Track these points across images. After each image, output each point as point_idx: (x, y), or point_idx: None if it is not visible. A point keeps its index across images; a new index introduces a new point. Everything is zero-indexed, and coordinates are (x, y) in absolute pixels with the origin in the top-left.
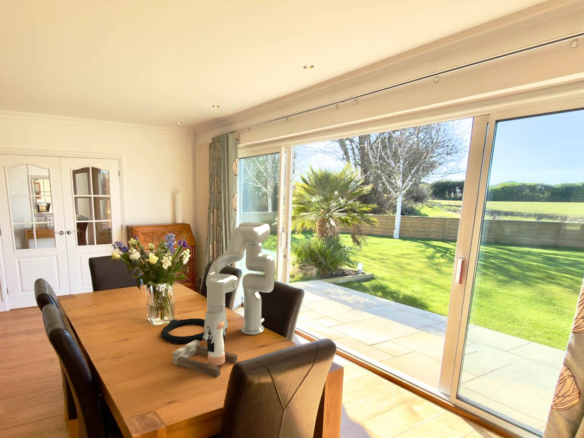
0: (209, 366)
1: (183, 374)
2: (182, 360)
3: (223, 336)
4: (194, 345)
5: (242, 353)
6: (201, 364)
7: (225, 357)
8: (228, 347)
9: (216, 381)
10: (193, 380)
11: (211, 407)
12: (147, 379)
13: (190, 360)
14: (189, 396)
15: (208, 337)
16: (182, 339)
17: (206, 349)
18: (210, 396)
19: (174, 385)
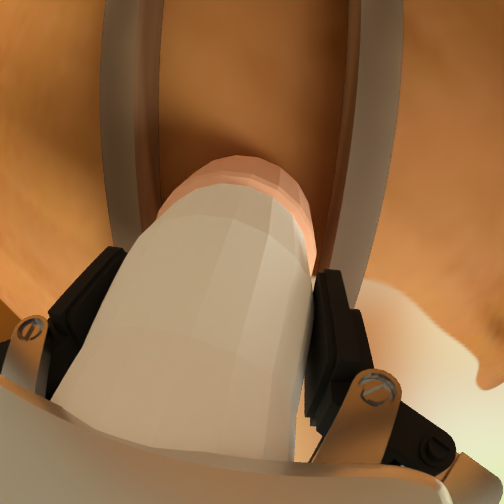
0: (125, 248)
1: (72, 95)
2: (108, 4)
3: (313, 416)
4: None
5: (436, 286)
6: (113, 180)
7: (327, 250)
8: (495, 167)
9: None
10: (64, 190)
11: None
12: (6, 10)
13: (117, 58)
14: (16, 250)
15: (17, 381)
16: None
17: (360, 48)
18: None
19: (11, 143)
